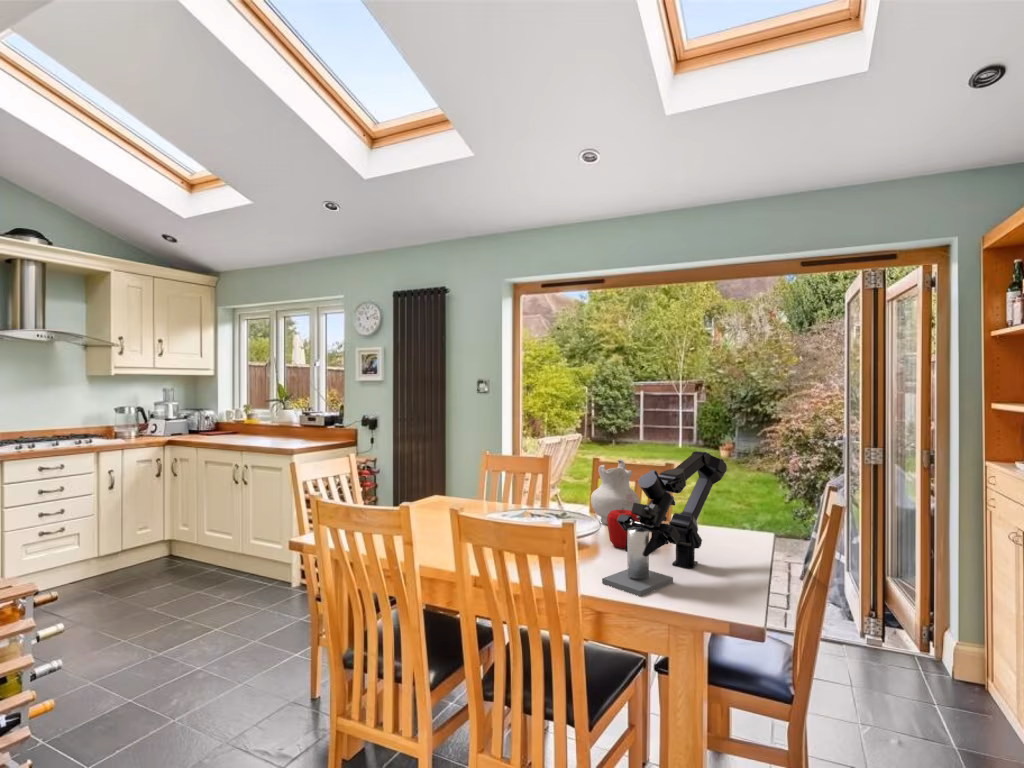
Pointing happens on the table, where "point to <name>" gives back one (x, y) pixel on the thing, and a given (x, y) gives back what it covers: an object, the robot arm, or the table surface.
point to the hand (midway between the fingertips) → (635, 553)
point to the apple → (618, 527)
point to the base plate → (637, 582)
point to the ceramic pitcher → (613, 491)
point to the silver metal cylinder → (637, 553)
